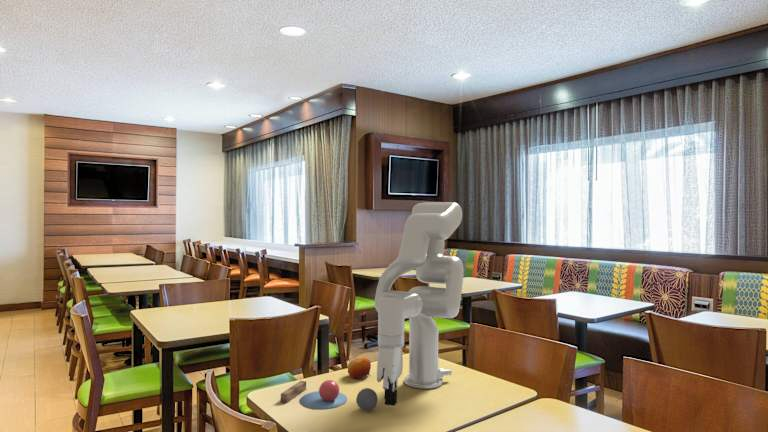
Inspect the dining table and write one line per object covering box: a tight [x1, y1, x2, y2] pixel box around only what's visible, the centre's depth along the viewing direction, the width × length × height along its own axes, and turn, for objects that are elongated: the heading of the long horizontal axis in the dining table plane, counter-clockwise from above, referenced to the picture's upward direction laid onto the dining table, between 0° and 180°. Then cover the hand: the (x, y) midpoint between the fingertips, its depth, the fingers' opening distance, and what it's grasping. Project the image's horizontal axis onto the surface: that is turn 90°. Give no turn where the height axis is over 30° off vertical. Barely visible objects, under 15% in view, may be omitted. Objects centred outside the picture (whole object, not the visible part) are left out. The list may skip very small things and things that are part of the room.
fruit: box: [347, 355, 372, 380], centre depth 166 cm, size 8×8×8 cm
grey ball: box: [356, 387, 378, 412], centre depth 138 cm, size 6×6×6 cm
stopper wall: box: [280, 380, 307, 404], centre depth 148 cm, size 12×2×2 cm, turn 161°
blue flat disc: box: [299, 390, 348, 410], centre depth 145 cm, size 14×14×1 cm
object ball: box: [318, 379, 340, 402], centre depth 144 cm, size 6×6×6 cm
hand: (390, 404), depth 138 cm, fingers closed
